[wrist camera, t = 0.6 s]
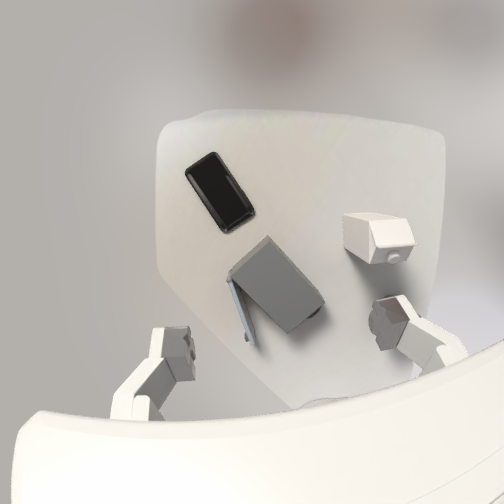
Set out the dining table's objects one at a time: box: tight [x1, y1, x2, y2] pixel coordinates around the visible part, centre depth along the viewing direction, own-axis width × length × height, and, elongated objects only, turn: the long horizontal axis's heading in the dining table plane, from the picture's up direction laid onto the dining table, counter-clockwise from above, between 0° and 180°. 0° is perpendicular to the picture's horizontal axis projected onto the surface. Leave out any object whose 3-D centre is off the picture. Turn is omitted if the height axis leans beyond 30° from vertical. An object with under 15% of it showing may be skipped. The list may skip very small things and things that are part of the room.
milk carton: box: [343, 212, 418, 264], centre depth 50 cm, size 7×7×19 cm
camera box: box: [230, 236, 325, 334], centre depth 58 cm, size 17×10×7 cm, turn 43°
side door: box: [227, 269, 255, 345], centre depth 59 cm, size 15×2×6 cm, turn 18°
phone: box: [185, 152, 254, 231], centre depth 58 cm, size 8×1×15 cm
